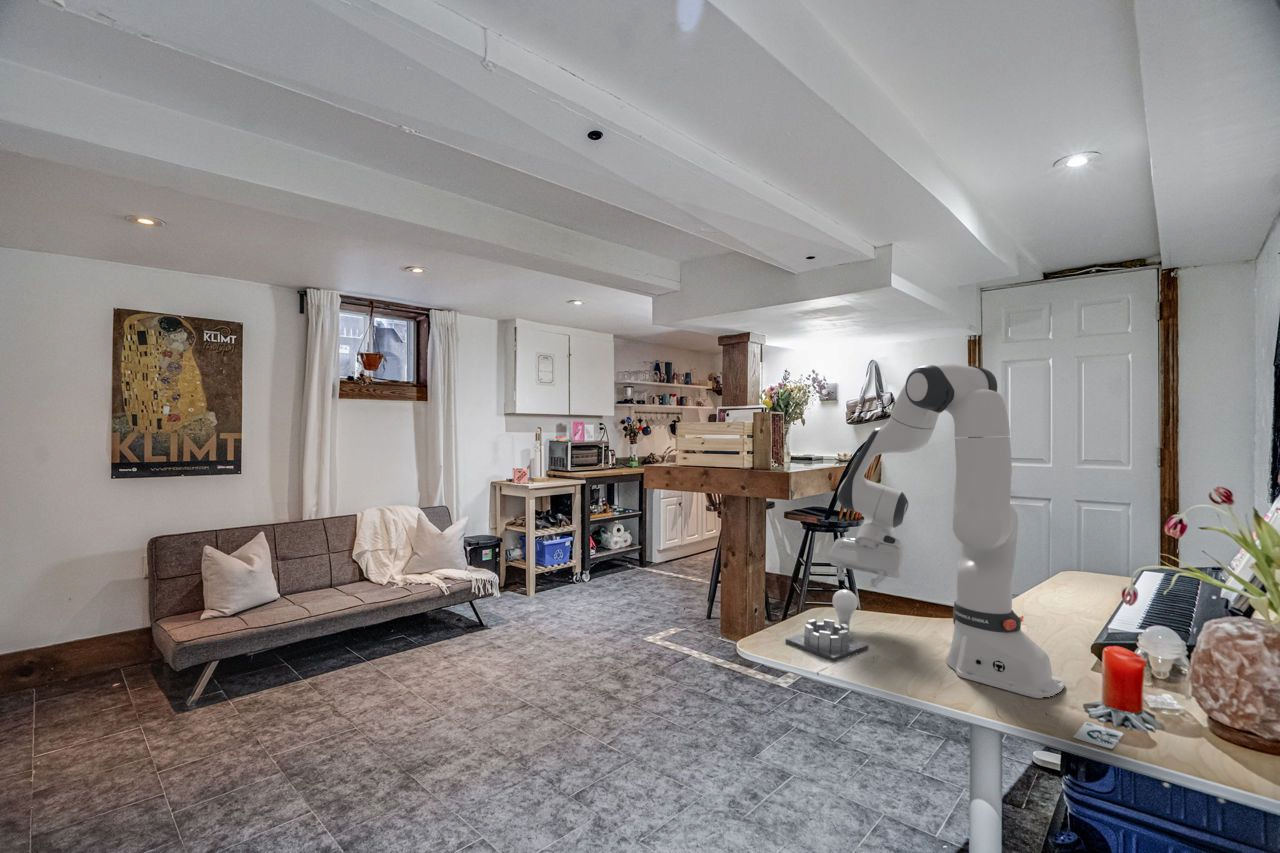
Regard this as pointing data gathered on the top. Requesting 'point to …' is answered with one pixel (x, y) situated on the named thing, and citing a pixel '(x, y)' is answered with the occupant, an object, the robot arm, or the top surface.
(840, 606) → the lightbulb
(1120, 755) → the top surface
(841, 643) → the lamp socket
